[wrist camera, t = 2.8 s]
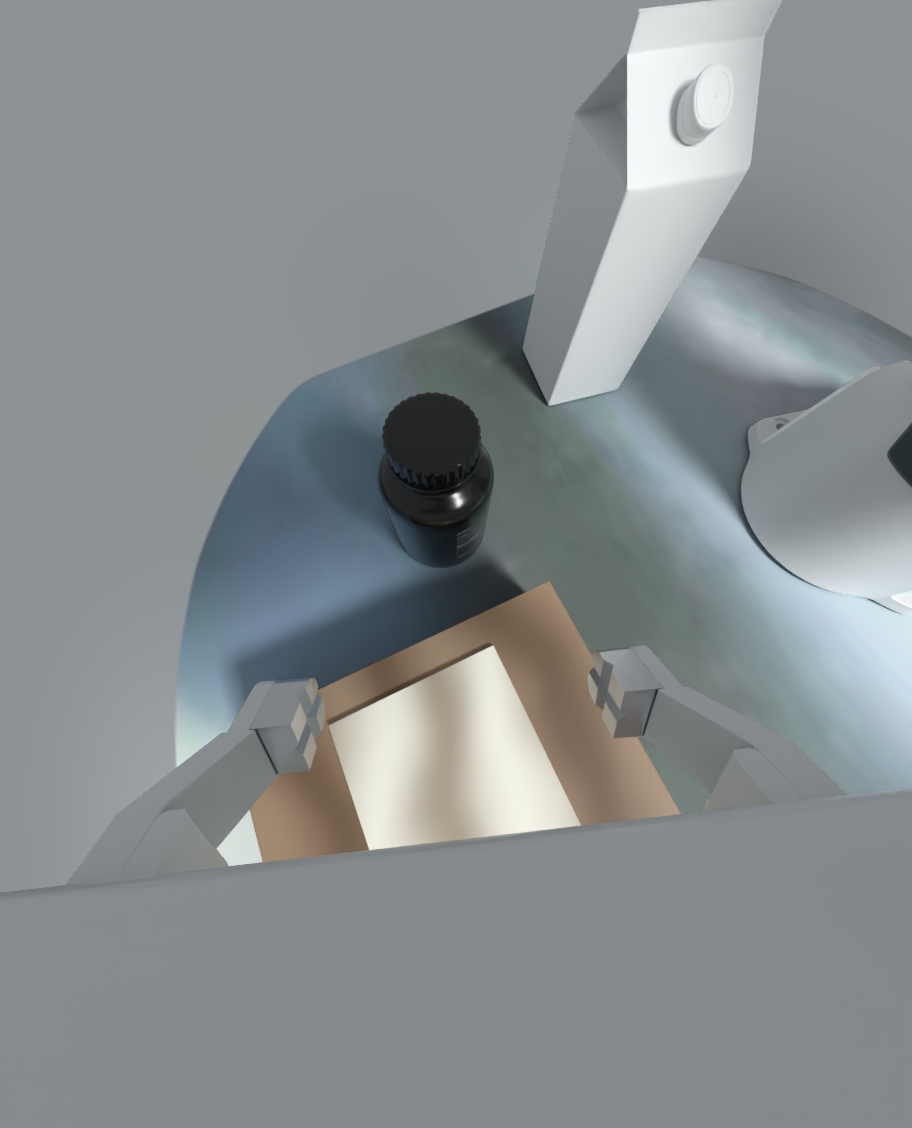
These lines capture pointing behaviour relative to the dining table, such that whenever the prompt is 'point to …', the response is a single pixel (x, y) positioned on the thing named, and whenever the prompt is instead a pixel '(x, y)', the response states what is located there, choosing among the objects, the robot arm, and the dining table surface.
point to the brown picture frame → (462, 744)
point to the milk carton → (644, 188)
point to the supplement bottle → (435, 478)
